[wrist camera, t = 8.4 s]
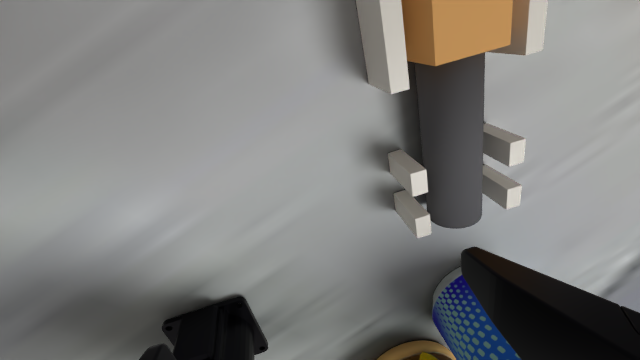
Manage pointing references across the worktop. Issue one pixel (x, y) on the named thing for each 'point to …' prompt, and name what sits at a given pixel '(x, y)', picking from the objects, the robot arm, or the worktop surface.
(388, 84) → the cream arch-shaped block
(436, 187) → the stamp-like rod
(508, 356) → the beer can
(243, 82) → the worktop surface
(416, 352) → the hamburger
